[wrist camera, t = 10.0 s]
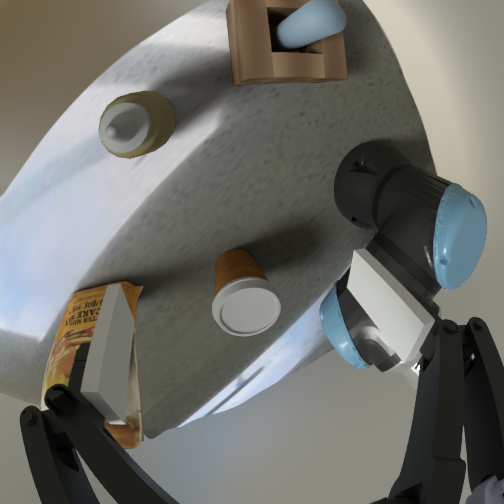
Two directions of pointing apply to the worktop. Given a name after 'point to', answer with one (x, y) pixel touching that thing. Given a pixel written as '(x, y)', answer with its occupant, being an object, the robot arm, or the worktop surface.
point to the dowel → (308, 25)
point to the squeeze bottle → (136, 124)
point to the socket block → (278, 63)
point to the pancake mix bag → (81, 331)
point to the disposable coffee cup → (243, 295)
